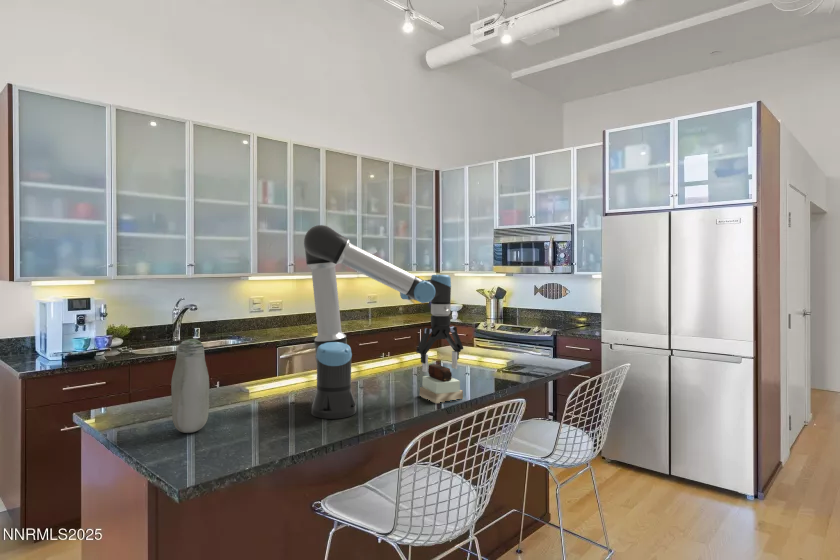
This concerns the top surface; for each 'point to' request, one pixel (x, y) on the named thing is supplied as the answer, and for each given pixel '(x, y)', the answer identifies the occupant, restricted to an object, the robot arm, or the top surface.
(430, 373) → the brick
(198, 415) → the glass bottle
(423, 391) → the base block
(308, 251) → the robot arm
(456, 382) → the top block
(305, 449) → the top surface
